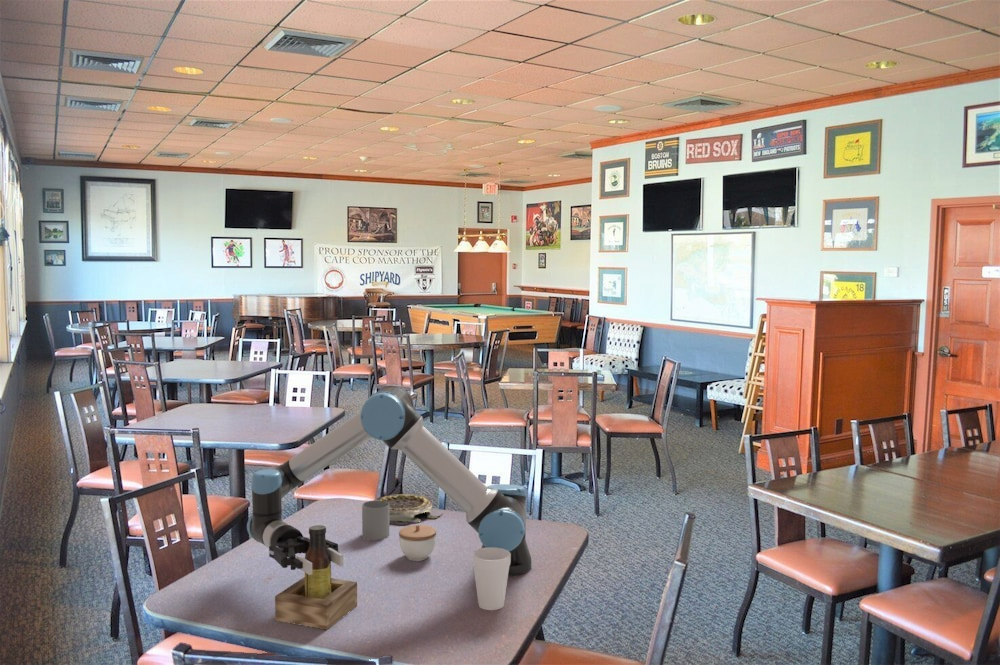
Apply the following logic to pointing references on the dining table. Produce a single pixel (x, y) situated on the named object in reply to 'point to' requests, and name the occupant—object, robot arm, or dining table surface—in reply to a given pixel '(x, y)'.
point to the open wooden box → (316, 604)
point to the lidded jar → (417, 541)
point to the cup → (375, 520)
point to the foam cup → (491, 576)
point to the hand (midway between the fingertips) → (326, 564)
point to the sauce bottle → (318, 564)
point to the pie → (407, 507)
